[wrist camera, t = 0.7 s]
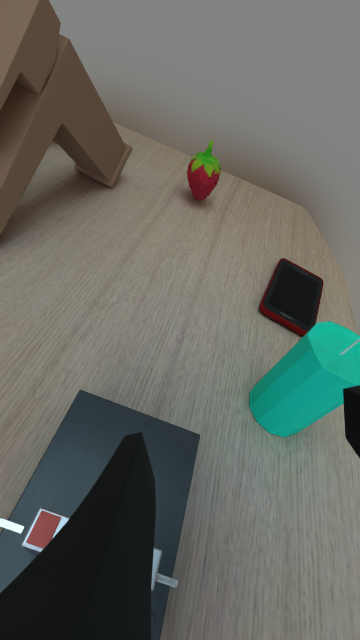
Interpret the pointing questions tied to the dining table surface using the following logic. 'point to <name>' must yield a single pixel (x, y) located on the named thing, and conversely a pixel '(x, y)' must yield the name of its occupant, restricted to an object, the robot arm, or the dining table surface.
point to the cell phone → (292, 297)
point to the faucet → (48, 104)
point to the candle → (307, 380)
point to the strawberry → (203, 173)
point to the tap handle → (50, 525)
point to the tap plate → (85, 468)
